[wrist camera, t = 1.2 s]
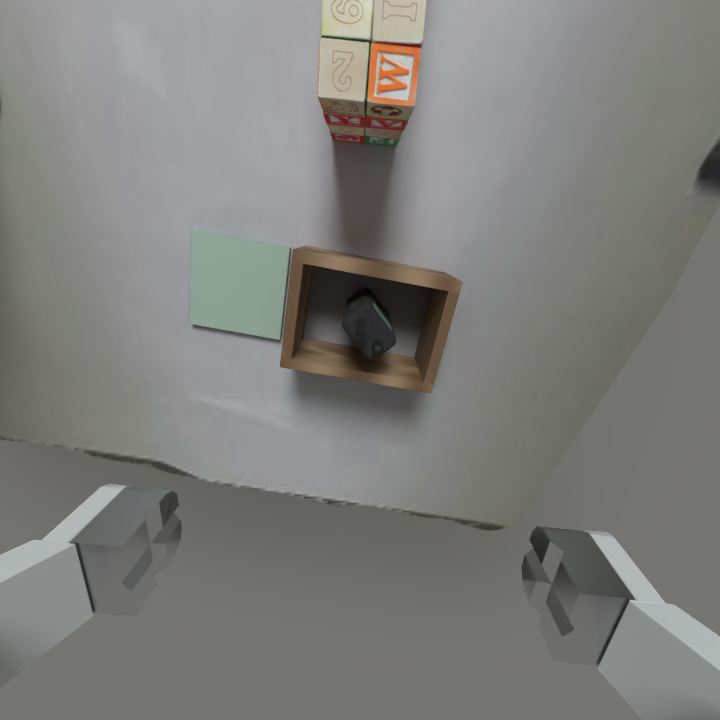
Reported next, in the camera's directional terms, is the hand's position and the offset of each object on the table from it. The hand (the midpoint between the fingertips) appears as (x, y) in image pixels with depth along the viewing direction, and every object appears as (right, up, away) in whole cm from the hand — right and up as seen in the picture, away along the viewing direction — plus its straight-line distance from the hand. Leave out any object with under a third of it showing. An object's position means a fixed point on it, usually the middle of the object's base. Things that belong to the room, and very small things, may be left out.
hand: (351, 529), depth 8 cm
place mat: (-13, +12, +30) cm, 35 cm away
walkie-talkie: (+1, +9, +31) cm, 33 cm away
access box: (+1, +9, +31) cm, 32 cm away
